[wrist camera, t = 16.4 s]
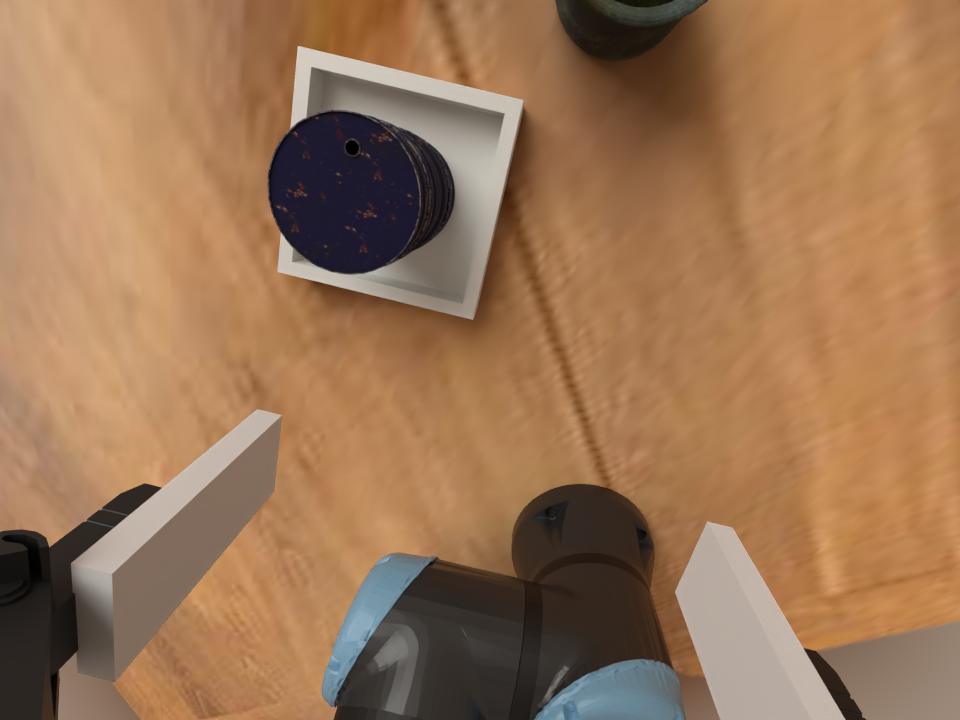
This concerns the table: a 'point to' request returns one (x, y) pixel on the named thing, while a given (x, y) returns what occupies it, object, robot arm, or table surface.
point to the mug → (621, 24)
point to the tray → (465, 147)
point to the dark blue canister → (357, 191)
